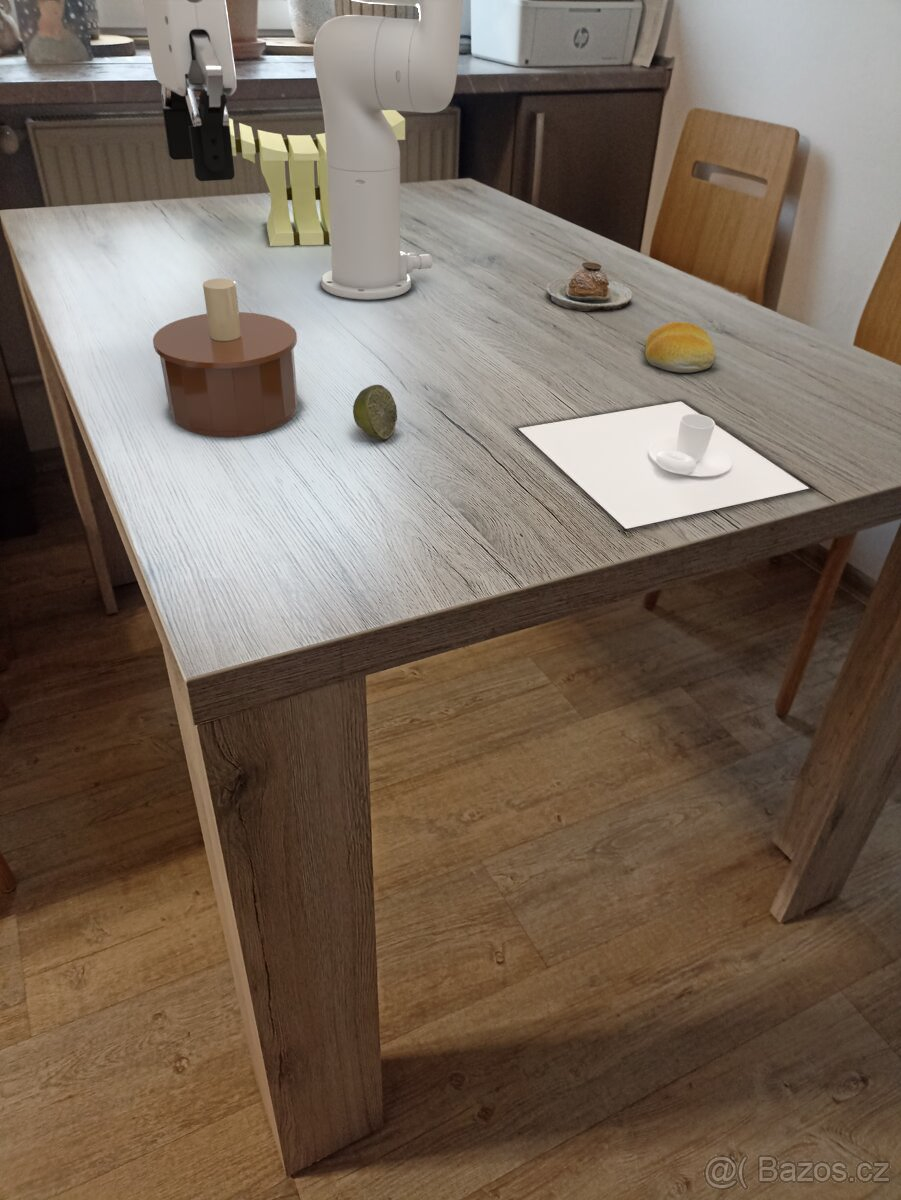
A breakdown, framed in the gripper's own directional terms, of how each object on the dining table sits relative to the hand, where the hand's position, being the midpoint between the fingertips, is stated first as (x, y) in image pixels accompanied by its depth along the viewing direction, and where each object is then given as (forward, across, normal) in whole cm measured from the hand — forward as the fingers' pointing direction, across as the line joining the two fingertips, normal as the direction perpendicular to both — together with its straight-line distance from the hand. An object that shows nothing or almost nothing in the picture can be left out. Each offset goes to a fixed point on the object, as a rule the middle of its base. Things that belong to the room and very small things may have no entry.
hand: (201, 168), depth 75 cm
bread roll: (+22, -8, -52) cm, 57 cm away
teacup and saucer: (+22, -27, -34) cm, 49 cm away
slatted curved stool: (+22, +61, -30) cm, 71 cm away
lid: (+15, -1, 0) cm, 15 cm away
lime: (+22, -12, -11) cm, 28 cm away
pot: (+22, -1, 0) cm, 22 cm away
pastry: (+22, +15, -55) cm, 61 cm away
